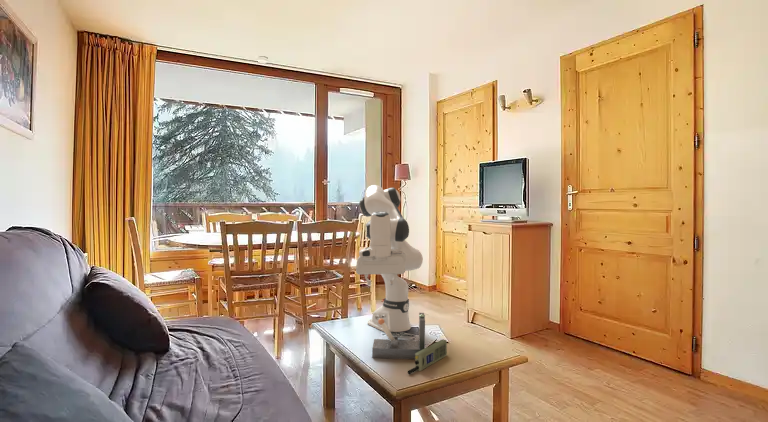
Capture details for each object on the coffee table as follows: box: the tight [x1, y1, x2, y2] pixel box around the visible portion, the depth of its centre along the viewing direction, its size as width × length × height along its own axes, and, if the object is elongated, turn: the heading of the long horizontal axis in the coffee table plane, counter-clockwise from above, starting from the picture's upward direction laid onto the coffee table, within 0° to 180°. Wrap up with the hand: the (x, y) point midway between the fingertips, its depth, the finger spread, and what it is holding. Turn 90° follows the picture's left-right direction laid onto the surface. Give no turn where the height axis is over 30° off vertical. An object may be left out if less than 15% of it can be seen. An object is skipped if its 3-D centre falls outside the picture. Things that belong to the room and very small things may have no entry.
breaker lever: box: [378, 318, 395, 343], centre depth 168 cm, size 3×3×12 cm
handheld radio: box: [407, 339, 448, 375], centre depth 158 cm, size 7×3×25 cm
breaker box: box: [371, 312, 426, 360], centre depth 168 cm, size 21×10×17 cm, turn 87°
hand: (380, 284), depth 166 cm, fingers open, 8 cm apart
